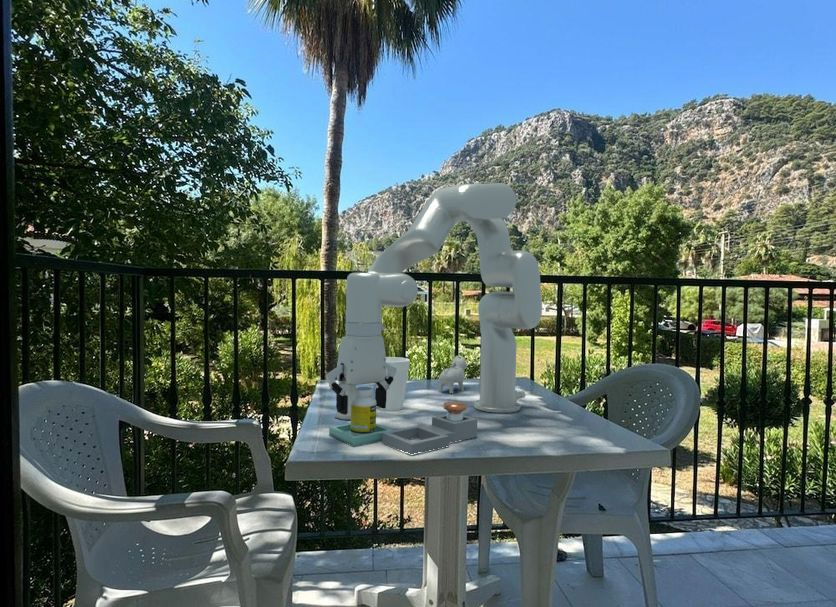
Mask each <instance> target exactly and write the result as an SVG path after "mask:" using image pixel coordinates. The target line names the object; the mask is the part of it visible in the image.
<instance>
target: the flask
mask: <svg viewBox="0 0 836 607" xmlns="http://www.w3.org/2000/svg"><path fill="white" fill-rule="evenodd" d="M355 388H357V385H351V387H350V388H349V389H348V391H347V392H346V394H345V395H347V396H348V413H347V414H346V415H344V414H341V413H339V412H337V411H336V413H335V416H334V418H336V419H340V420H344V421H345V420H346V421H347V420H350V421H351V402H352V400H353V399H354V398H356V396H355Z"/></svg>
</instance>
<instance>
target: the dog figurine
mask: <svg viewBox="0 0 836 607" xmlns="http://www.w3.org/2000/svg"><path fill="white" fill-rule="evenodd" d="M466 360H467V359H466V357H465V356H464V357H460V356H459V355H456V356H454V359H453V360H452V362H451V366H449V368H445V370H443V371H441V372H440V374H439V377H438V380H439V381H438V382H439V383H438V385H439V388H438V389H439V390H438V392H439V393H440V392H442V393H443V387H444V386H446V387H447V388H448V389H449V393H454V389H453V388H454V386H455V385H454V384H455V383H457V384H458V388H459V391H460V390H462V391H461V392H464V391H465V389H464V379H465V378H466V375H465V374H466V373H465V369H467V367H468V363H467V361H466Z"/></svg>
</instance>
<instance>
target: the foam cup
mask: <svg viewBox="0 0 836 607" xmlns="http://www.w3.org/2000/svg"><path fill="white" fill-rule="evenodd" d="M386 363H387V364H389V365H391V366H393V367H394V368H396V369H397V371H396V373H395V376H394V377H393V381H392V383H391V384H390V385H389V389H388V390H387V394H386V408H380V407H378V409H380V410H381V409H382V411H388V412H392V411H393V412H394V411H395V412H396V411H400V409H401V410H403V408H404V403H405V395H406V388H407V382H408V375H409V370H410V359H409V358H408V357H407V358H405V357H397V356H395V357H394V356H386ZM387 373H388V371H387V370H386V376H387ZM386 376H385V377H386ZM375 385H376V384H375ZM376 388H378V386H377V385H376Z"/></svg>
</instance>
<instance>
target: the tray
mask: <svg viewBox="0 0 836 607" xmlns="http://www.w3.org/2000/svg"><path fill="white" fill-rule="evenodd" d="M350 429H351V422H350V423H345V424H344V423H343V424H339V425H338V424H337V425H334V426H329V429H328V432H329V433H328V435H329V436H330V437H332V436H333V437H332V438H334V437H335V438H334V439H336V438H337V439H336V440H338V439H339V440H338V441H340V440H341V441H340V442H342V441H344V442H346V443H345V444H347V443H348V444H347V445H349V444H350V445H349V446H351V445H352V446H351V447H353V446H356V447H359V445H361V446H364V445H363V444H366V445H369V444H368V443H371V444H374V443H373V442H376V443H379V442H378V441H380V442H382V433H383V432H388V431H393V430H394V429H392V428H388V427H386V426H384V425H381V424H378V423H376V431H375V433H369V434H364V435H359V436H354V435H352V434H351V432H350ZM344 442H343V443H344Z"/></svg>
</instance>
